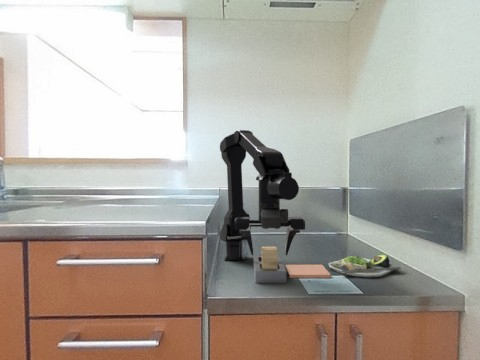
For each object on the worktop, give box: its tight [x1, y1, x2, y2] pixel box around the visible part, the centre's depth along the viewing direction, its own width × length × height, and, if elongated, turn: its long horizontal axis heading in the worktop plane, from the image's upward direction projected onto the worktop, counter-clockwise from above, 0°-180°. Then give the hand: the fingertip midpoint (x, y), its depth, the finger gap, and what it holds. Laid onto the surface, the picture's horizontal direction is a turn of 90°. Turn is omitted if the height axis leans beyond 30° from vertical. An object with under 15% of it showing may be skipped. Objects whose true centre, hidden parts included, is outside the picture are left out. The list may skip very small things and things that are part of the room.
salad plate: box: [328, 254, 402, 278], centre depth 108 cm, size 19×18×5 cm
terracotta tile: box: [284, 264, 332, 279], centre depth 106 cm, size 11×11×1 cm
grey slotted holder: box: [252, 255, 287, 284], centre depth 105 cm, size 18×8×3 cm, turn 0°
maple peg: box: [261, 246, 279, 269], centre depth 101 cm, size 4×4×8 cm
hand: (269, 254), depth 101 cm, fingers open, 9 cm apart
